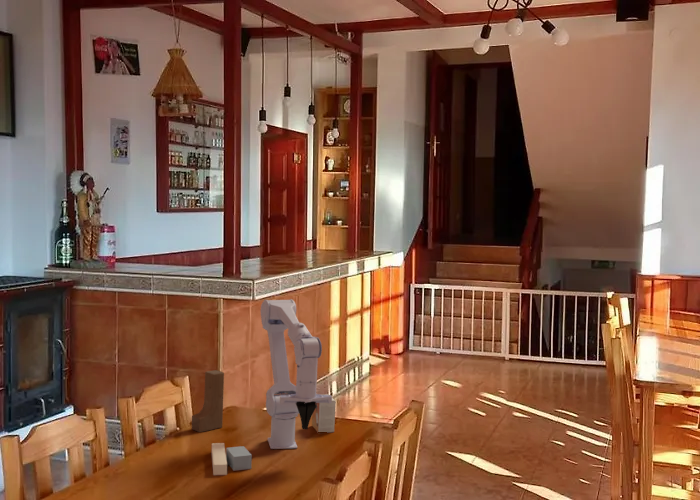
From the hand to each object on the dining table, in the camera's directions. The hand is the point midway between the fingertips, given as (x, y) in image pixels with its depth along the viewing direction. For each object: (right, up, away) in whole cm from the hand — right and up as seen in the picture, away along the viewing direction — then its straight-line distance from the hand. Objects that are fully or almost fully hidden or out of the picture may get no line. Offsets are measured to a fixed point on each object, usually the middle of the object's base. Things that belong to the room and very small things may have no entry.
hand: (304, 428), depth 214 cm
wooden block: (-33, -7, +28) cm, 44 cm away
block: (-18, -10, -3) cm, 21 cm away
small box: (+4, -8, +33) cm, 34 cm away
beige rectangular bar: (-24, -9, -3) cm, 26 cm away
